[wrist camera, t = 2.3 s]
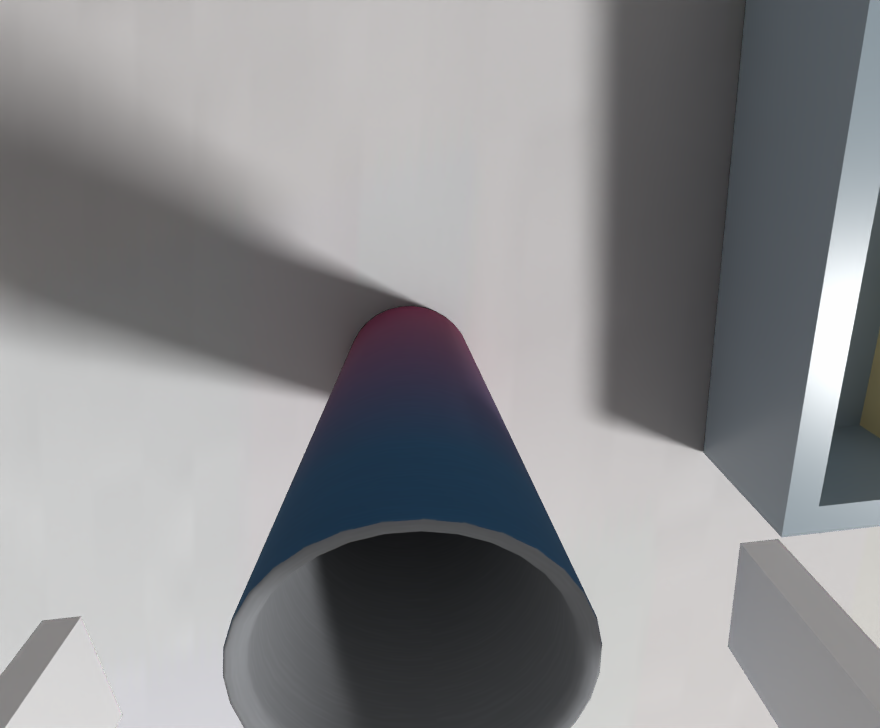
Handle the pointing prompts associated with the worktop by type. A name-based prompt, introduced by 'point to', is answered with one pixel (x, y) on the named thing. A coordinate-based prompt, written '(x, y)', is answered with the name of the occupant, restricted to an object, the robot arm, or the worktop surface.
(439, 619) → the cup
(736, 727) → the worktop surface
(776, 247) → the walled box
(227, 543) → the worktop surface
